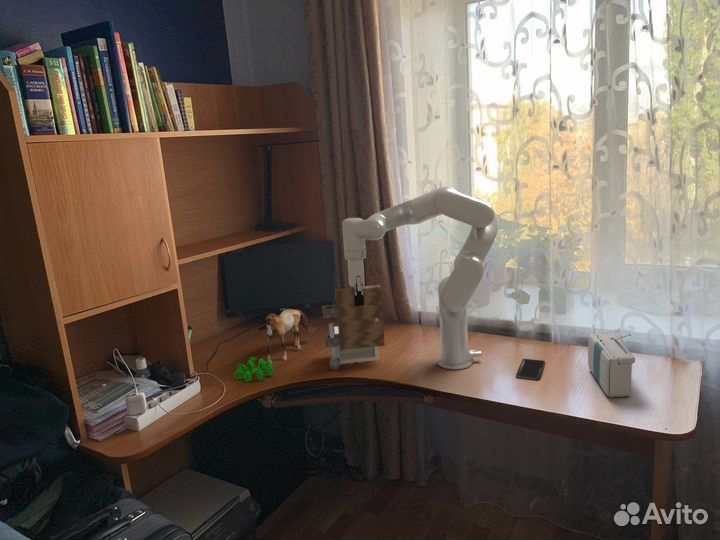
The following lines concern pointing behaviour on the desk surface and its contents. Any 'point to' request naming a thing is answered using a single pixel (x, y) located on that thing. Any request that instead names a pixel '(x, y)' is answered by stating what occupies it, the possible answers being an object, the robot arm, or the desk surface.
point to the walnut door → (356, 319)
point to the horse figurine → (286, 327)
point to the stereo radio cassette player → (610, 364)
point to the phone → (530, 369)
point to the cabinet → (350, 353)
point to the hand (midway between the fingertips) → (359, 303)
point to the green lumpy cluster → (254, 370)
